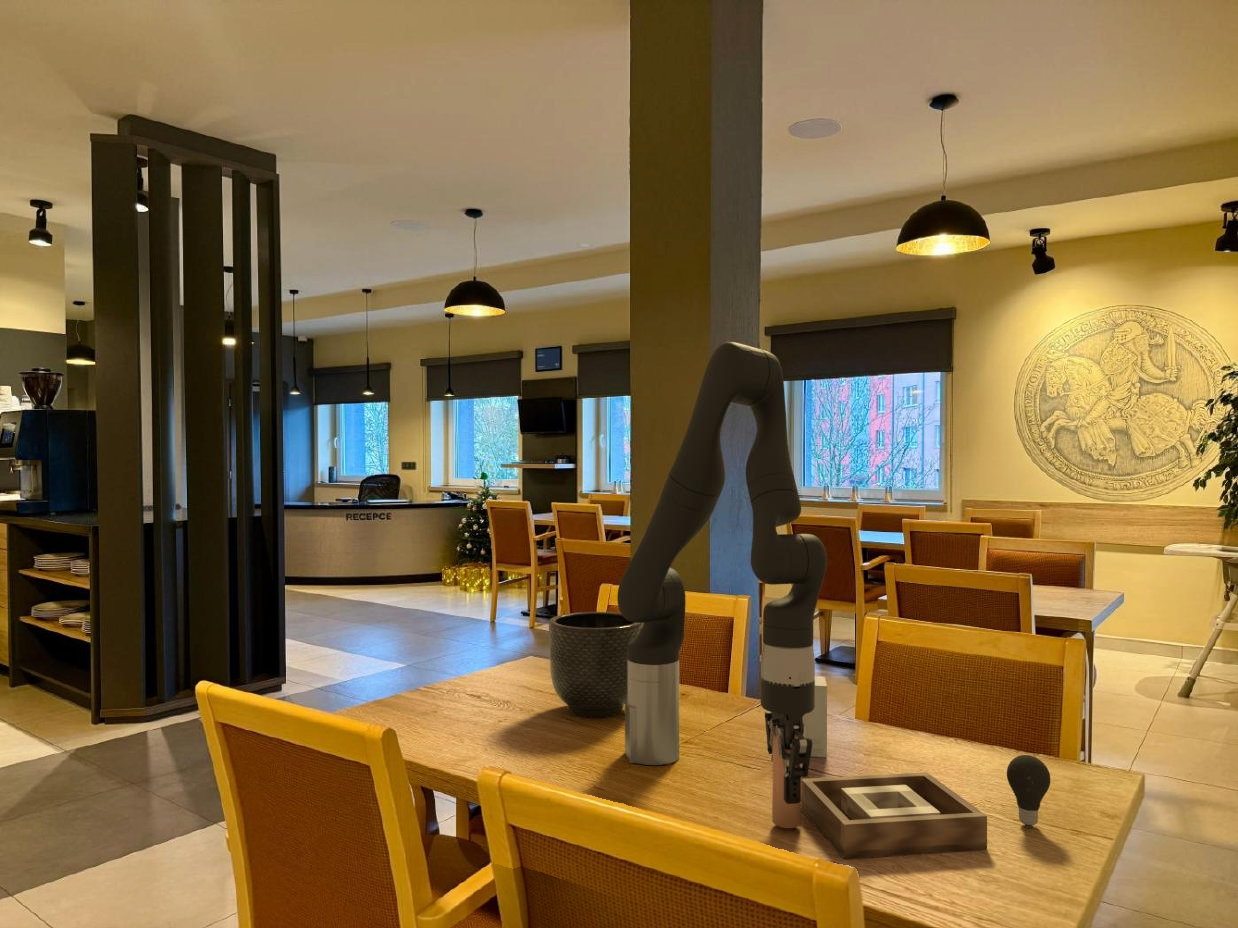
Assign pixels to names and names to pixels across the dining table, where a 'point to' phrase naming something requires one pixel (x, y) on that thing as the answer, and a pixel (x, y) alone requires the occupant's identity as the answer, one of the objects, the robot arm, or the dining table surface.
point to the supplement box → (818, 720)
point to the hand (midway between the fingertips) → (786, 795)
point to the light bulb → (1028, 786)
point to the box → (892, 815)
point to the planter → (591, 661)
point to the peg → (782, 795)
